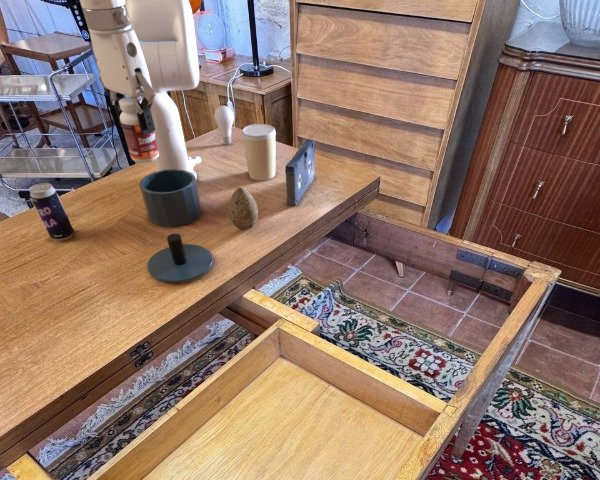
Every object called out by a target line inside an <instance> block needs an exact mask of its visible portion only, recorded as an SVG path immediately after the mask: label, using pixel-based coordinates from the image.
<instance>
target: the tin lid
mask: <svg viewBox="0 0 600 480" xmlns="http://www.w3.org/2000/svg"><path fill="white" fill-rule="evenodd" d="M166 241H167V244H168V246H167V247H165V248H162V249H160V250H159V251H157V252H156V253H154V254H153V255H152V256H151V257H150V259H148V262H147V271H148V273H149V275H150V276H151V277H152V278H154V280H157V281H159V282H162V283H168V284H179V283H181V284H182V283H186V282H191V281H194V280H196V279H198V278H201V277H202V276H204V275H205V274H207V273H208V272H209V271H210V270H211V268H212V266H213V263H214V259H213V255H212V253H211V252H210V250H208V249H207V248H206V247H204V246H201V245H197V244H191V243H190V244H189V243H185V244H184V242H183V240H182V235H181V234H179V233H171V234H168V235H167V236H166Z"/></svg>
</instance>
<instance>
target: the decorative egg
mask: <svg viewBox="0 0 600 480" xmlns="http://www.w3.org/2000/svg"><path fill="white" fill-rule="evenodd" d="M227 207H228V208H227V209H228V211H227V212H228V217H229V220H230V222H231V223H232V224H233V226H234V227H236V228H237V229H239V230H243V231H244V230H245V231H247V230H250V229H252V228H253V227H254V226H255V224H256V223H257V221H258V217H259V216H258V215H259V208H258V204H257V202H256V200H255V198H254V197H253V195H252V194H251V193H250V192H249V191H248V190H247V189H245V188H244V187H238V188H236V189H235V190H234V191H233V193H232V195H231V197H230V199H229V202H228V206H227Z"/></svg>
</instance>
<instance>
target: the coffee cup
mask: <svg viewBox="0 0 600 480" xmlns="http://www.w3.org/2000/svg"><path fill="white" fill-rule="evenodd" d="M276 135H277V132H276V129H275V127H274V126H272V125H270V124H268V123H267V124H266V123H254V124H249V125H246V126H244V128H243V129H242V132H241V137H242V139H243V140H242V141H243V147H244V154H245V158H246V165H247V170H248V176H249V178H251V179H252V180H255V181H267V180H271V179H272V178H274V177H275V176H276Z"/></svg>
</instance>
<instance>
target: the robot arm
mask: <svg viewBox="0 0 600 480" xmlns="http://www.w3.org/2000/svg"><path fill="white" fill-rule="evenodd" d="M79 3H80V6H81V10H82V13H83V16H84V19H85V22H86V24H87V25H86V26H87V28H88V29H87V30H88V32H89V36H90V40H91V46H92V50H93V54H94V58H95V62H96V66H97V68H98V72H99V77H98V79H99V83H100V84H101V85H102V87H103V88H104V90H105V93H106V94H107V95H108V96H109V98H110V102H111V105H113V107H114V110H115V113H116V117H117V120H118V123H119V126H120V127H121V128H122V125H121V121H120V115H121V113H122V112H123V111H122V110H121V108H120V105H119V100H121V99H122V98H125V97H131V98H132V100H133V102H134V104H135V106H136V108H137V110H138V113H137V117H138V121H139V125H140V128H141V132H142V134H144V135H146V134H148V133H151V132H153V131H154V135H155V139H156V143H157V147H158V151H159V156H158V158H157V159H155V160H154V161H153V164H154V168H155V172H157V171H161V170H168V169H179V170H185V171H188V172H191V173H192V174H193V175H194V176H195V178H196V180H197V179H198V175H197V172H196V170H194V168H195V166H198V165H199V164H201V163H202V157H201V156H199V155H196V156H194V157H193V158H192V157H191V156H188V152H187V147H186V141H185V137H184V132H183V127H182V121H181V118H180V112H179V109H178V107H177V105H176V103H175V102H174V100H173V99H172V98H171V97H170V96H169V95H168V93H167V92H173V91H189V90H194V89H195V88H197V87H198V85H199V83H200V66H199V57H198V56H199V55H198V47H197V40H196V39H197V38H196V29H195V22H194V21H195V20H194V15H193V10H192V6H191V4H190V0H79ZM140 42H141V43H140ZM138 97H140V98H141V99H142V101H141V104H140V102H139V100H138Z"/></svg>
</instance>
